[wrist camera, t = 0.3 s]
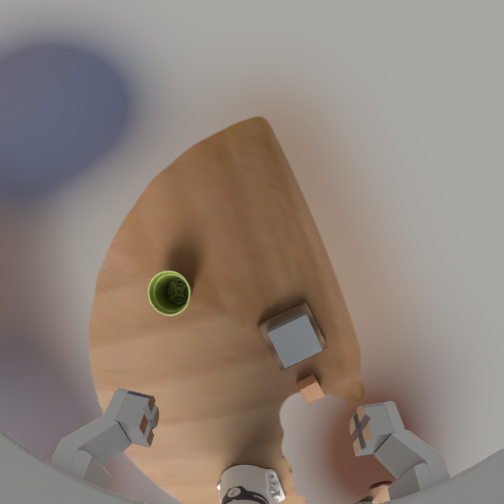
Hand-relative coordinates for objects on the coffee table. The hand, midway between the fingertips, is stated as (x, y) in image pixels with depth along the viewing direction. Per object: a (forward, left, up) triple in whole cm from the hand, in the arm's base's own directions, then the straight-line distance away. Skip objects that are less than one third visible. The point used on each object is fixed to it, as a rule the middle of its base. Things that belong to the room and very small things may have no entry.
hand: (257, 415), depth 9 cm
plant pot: (+10, +15, -53) cm, 56 cm away
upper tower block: (-12, -4, -50) cm, 52 cm away
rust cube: (-25, -2, -53) cm, 59 cm away
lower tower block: (-12, -4, -54) cm, 55 cm away
